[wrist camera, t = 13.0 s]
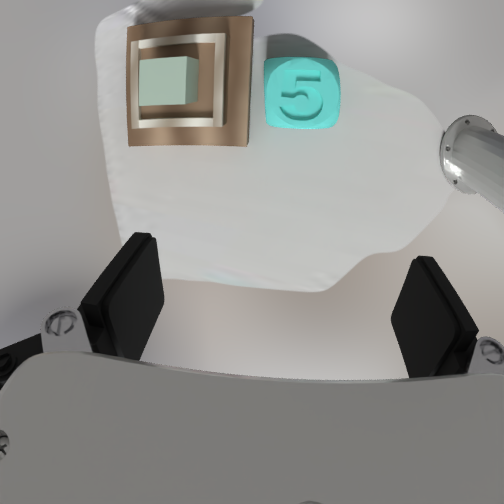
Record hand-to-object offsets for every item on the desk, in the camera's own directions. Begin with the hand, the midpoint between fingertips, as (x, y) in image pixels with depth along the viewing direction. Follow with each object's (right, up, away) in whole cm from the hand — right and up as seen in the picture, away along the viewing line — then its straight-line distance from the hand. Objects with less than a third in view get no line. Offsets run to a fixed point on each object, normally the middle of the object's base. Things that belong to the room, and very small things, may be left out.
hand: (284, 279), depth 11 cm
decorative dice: (+5, +22, +25) cm, 33 cm away
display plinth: (-9, +23, +24) cm, 35 cm away
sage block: (-10, +20, +19) cm, 30 cm away
